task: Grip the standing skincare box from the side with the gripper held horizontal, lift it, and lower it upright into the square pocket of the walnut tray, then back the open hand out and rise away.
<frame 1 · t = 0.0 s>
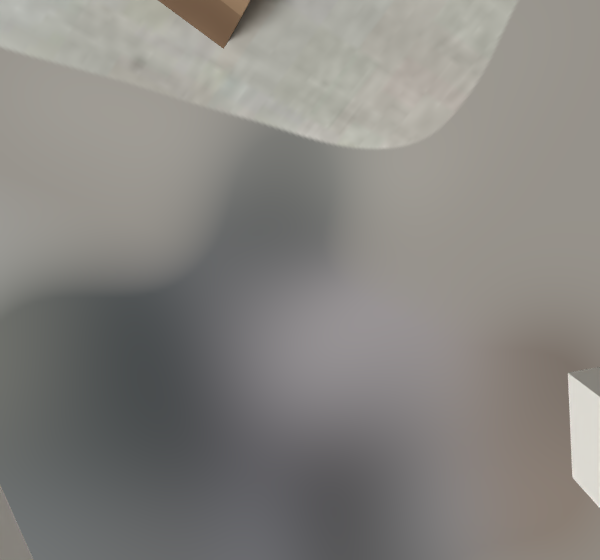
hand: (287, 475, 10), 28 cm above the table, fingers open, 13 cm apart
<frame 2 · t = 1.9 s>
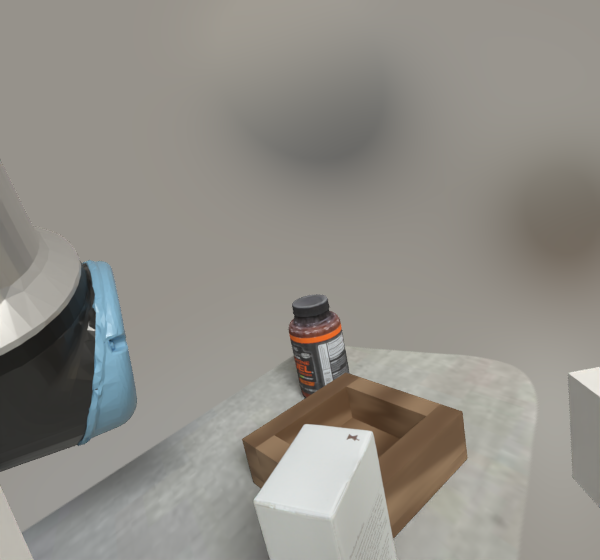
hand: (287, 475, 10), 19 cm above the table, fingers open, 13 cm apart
walnut tray: (357, 471, 37), on the table
supplement bottle: (327, 391, 51), on the table
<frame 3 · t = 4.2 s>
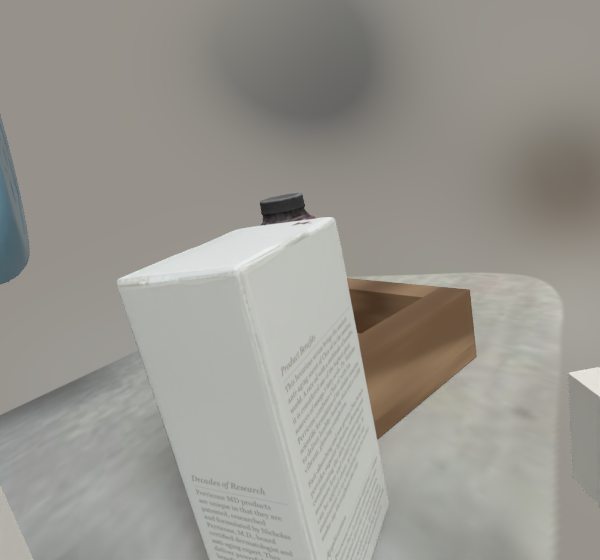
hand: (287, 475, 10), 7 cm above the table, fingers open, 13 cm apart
walnut tray: (333, 377, 29), on the table
supplement bottle: (304, 313, 43), on the table
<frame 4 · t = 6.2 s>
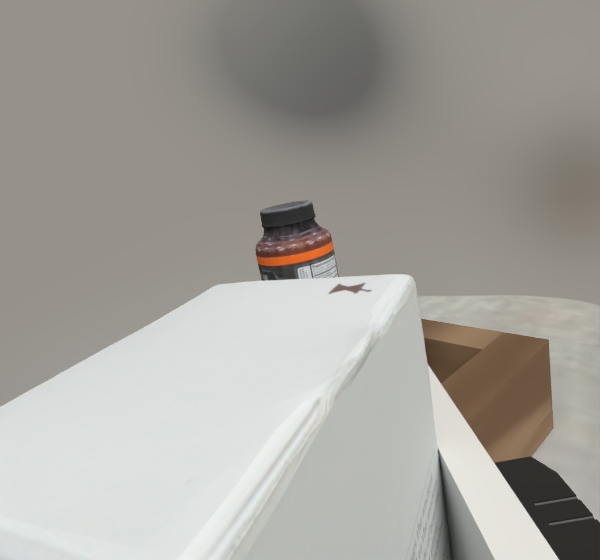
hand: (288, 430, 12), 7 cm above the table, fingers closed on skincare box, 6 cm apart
walnut tray: (357, 451, 21), on the table
supplement bottle: (313, 345, 35), on the table
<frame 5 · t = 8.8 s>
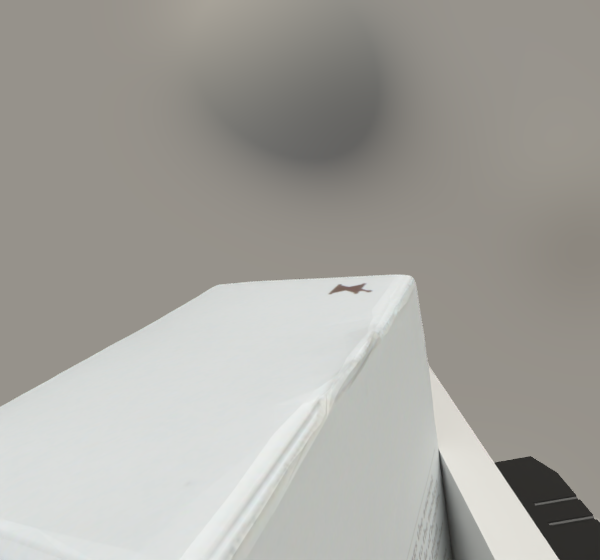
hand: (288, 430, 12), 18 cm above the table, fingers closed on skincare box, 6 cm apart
when the fingers open (10 cm above the table, at t = 11.2 s): skincare box drops 1 cm, resting on walnut tray.
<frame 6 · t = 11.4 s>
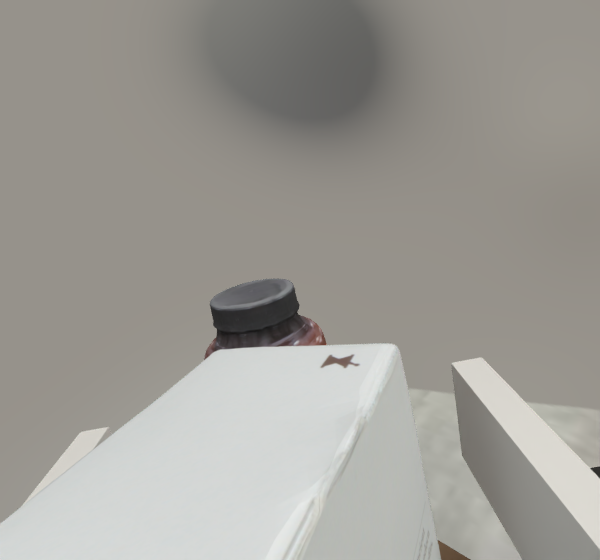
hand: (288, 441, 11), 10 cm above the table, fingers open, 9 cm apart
supplement bottle: (298, 493, 23), on the table
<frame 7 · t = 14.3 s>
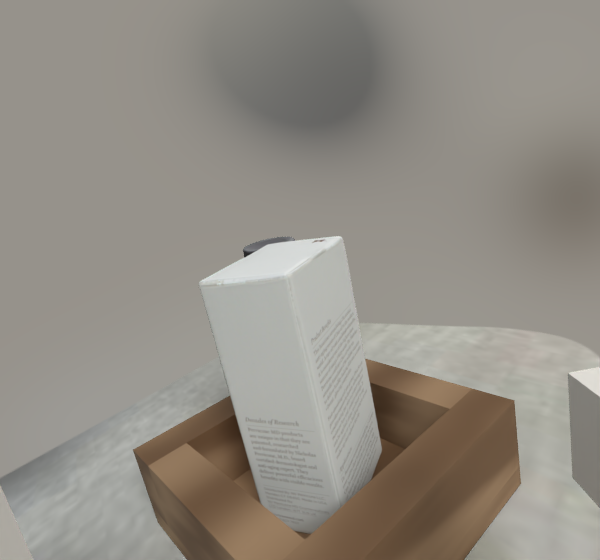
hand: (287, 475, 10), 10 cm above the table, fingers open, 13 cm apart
walnut tray: (330, 503, 22), on the table
supplement bottle: (297, 378, 36), on the table
skincare box: (328, 491, 22), point 1 cm above the table, touching walnut tray
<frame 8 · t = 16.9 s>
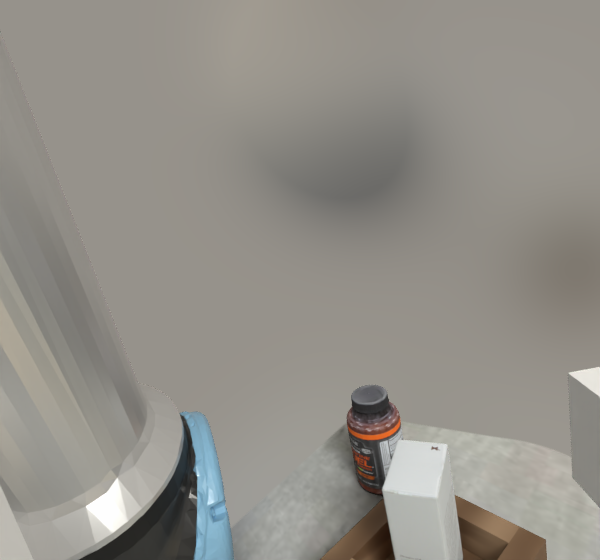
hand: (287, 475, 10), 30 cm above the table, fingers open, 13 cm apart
supplement bottle: (383, 479, 51), on the table
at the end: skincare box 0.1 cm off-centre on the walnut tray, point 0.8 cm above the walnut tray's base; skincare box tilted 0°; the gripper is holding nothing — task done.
